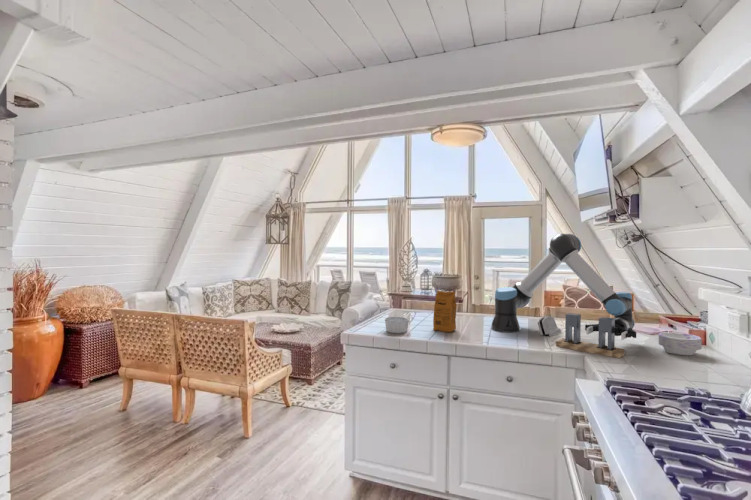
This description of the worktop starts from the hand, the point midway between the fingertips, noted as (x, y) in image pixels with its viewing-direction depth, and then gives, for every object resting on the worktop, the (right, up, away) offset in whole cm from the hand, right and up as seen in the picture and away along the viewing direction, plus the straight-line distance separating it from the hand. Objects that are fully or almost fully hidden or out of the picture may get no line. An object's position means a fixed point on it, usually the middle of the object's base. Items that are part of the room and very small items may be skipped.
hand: (604, 333), depth 165 cm
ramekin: (-89, -8, +43) cm, 99 cm away
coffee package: (-62, -8, +46) cm, 78 cm away
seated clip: (-7, -9, +12) cm, 17 cm away
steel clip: (+2, -9, +2) cm, 10 cm away
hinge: (-5, -9, +42) cm, 43 cm away
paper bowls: (+36, -10, +4) cm, 38 cm away
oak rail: (-3, -9, +7) cm, 12 cm away
